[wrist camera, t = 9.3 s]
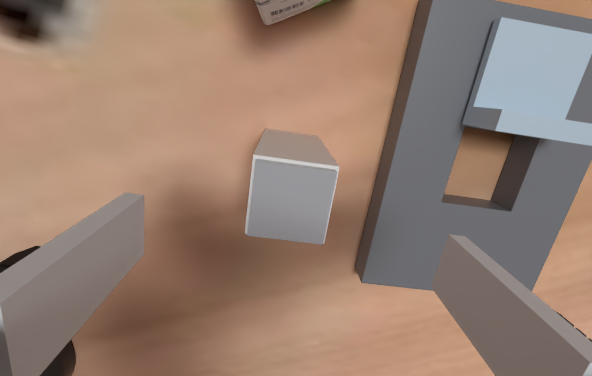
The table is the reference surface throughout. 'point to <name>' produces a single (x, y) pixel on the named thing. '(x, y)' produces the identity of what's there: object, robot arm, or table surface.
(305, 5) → the ink box
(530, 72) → the light blue l-shaped block
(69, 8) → the table surface
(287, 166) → the plug
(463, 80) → the socket block
